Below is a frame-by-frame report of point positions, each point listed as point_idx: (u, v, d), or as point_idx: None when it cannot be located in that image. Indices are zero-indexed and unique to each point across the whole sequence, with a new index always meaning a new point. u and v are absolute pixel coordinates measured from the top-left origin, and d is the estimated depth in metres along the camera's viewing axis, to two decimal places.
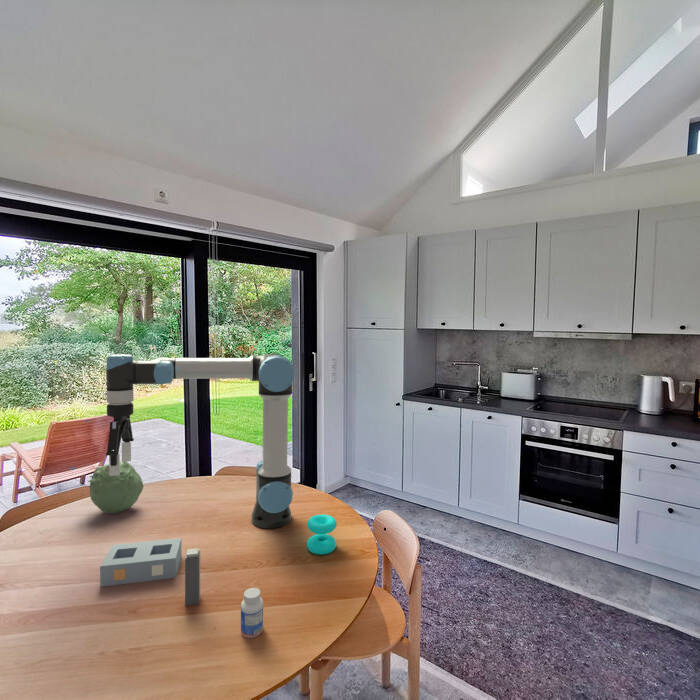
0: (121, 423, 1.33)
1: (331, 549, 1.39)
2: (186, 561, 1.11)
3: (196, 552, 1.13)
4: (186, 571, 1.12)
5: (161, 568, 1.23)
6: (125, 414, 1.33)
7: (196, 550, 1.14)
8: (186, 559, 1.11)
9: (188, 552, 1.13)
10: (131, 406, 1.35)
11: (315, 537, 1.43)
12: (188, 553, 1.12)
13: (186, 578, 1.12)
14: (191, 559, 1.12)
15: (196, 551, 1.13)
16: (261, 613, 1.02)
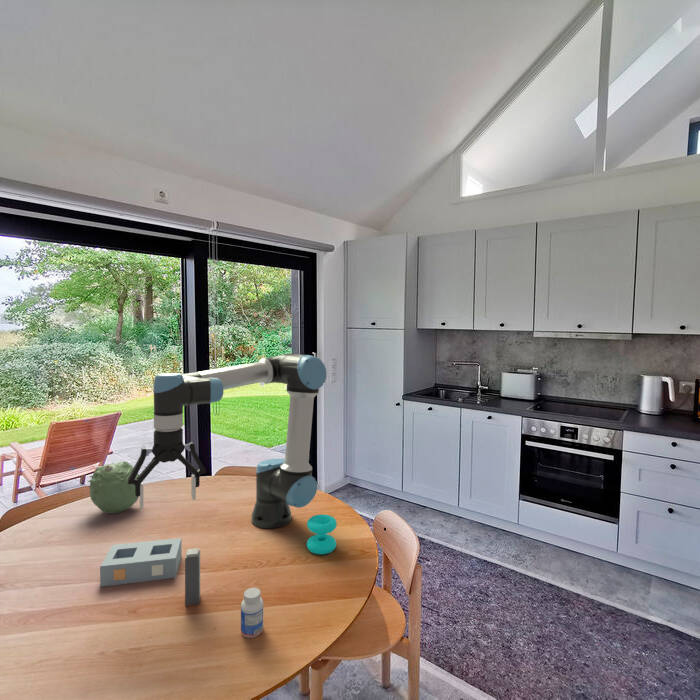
0: (157, 452, 1.16)
1: (331, 549, 1.39)
2: (186, 561, 1.12)
3: (196, 552, 1.13)
4: (186, 571, 1.12)
5: (161, 568, 1.23)
6: (157, 442, 1.15)
7: (196, 550, 1.14)
8: (186, 559, 1.11)
9: (188, 552, 1.13)
10: (165, 435, 1.15)
11: (315, 537, 1.43)
12: (188, 553, 1.12)
13: (186, 578, 1.12)
14: (191, 559, 1.12)
15: (196, 551, 1.13)
16: (261, 613, 1.02)
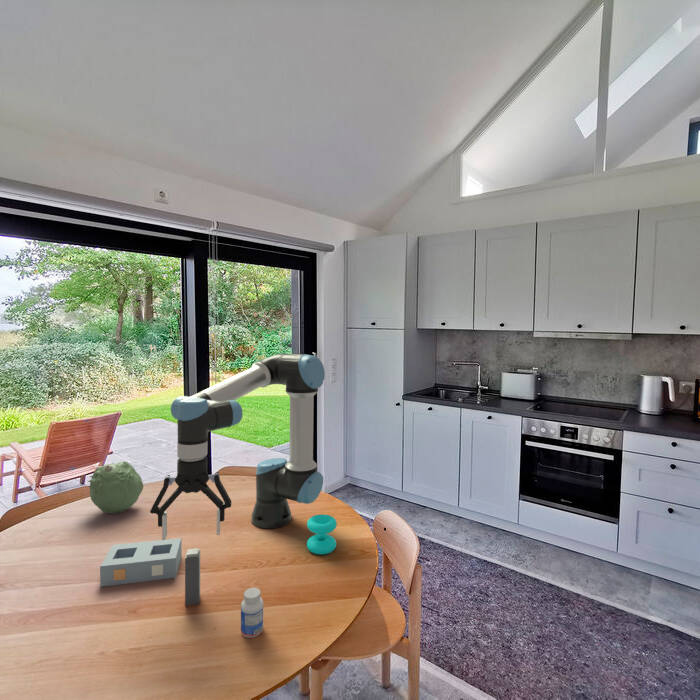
0: (179, 481, 1.10)
1: (331, 549, 1.39)
2: (186, 561, 1.11)
3: (196, 552, 1.13)
4: (186, 571, 1.12)
5: (161, 568, 1.23)
6: (179, 472, 1.09)
7: (196, 550, 1.14)
8: (186, 559, 1.11)
9: (188, 552, 1.13)
10: (186, 465, 1.08)
11: (315, 537, 1.43)
12: (188, 553, 1.12)
13: (186, 578, 1.12)
14: (191, 559, 1.12)
15: (196, 551, 1.13)
16: (261, 613, 1.02)
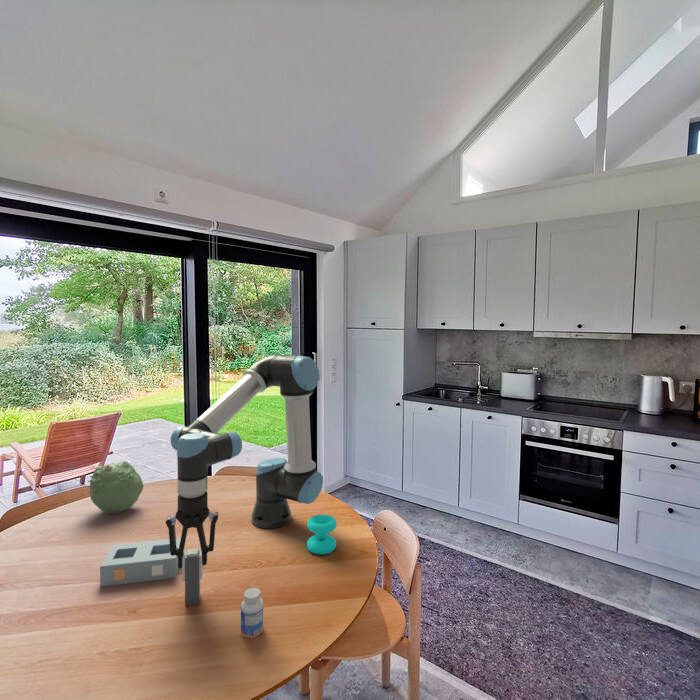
0: (180, 517, 1.11)
1: (331, 549, 1.39)
2: (186, 561, 1.12)
3: (196, 552, 1.13)
4: (186, 571, 1.12)
5: (161, 568, 1.23)
6: (179, 508, 1.10)
7: (196, 550, 1.14)
8: (186, 559, 1.11)
9: (188, 552, 1.13)
10: (186, 502, 1.09)
11: (315, 537, 1.43)
12: (188, 553, 1.12)
13: (186, 578, 1.12)
14: (191, 559, 1.12)
15: (196, 551, 1.13)
16: (261, 613, 1.02)
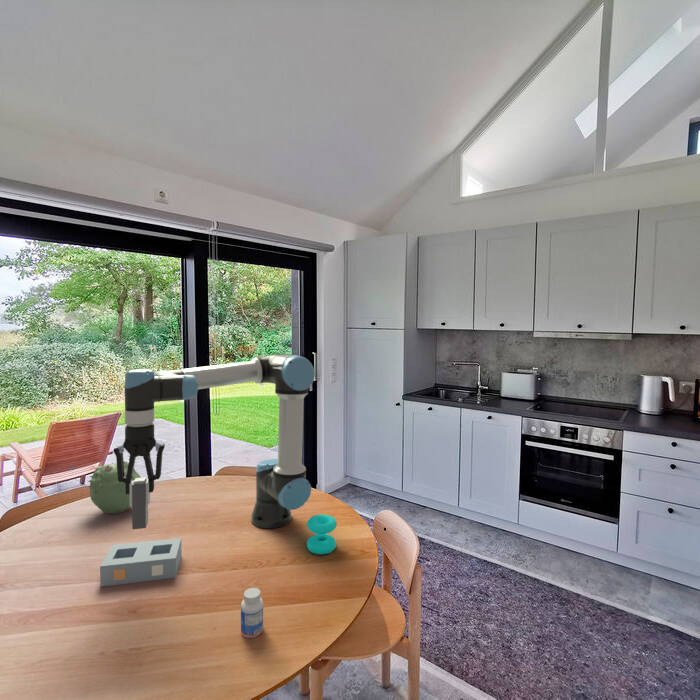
0: (127, 446, 1.19)
1: (331, 549, 1.39)
2: (133, 487, 1.19)
3: (143, 480, 1.21)
4: (133, 497, 1.20)
5: (161, 568, 1.23)
6: (126, 437, 1.18)
7: (143, 478, 1.22)
8: (133, 485, 1.19)
9: (135, 480, 1.21)
10: (132, 430, 1.17)
11: (315, 537, 1.43)
12: (135, 480, 1.20)
13: (133, 503, 1.20)
14: (138, 486, 1.20)
15: (143, 479, 1.21)
16: (261, 613, 1.02)
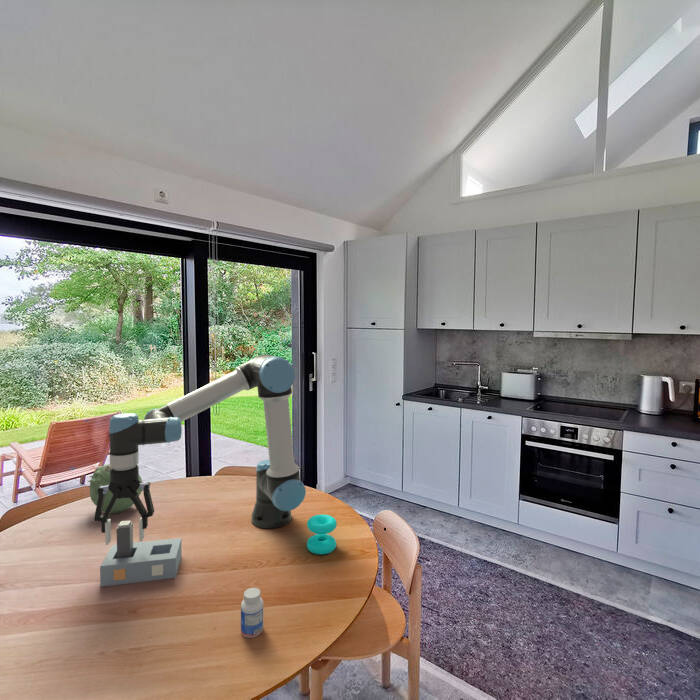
0: (112, 488, 1.23)
1: (331, 549, 1.39)
2: (118, 531, 1.24)
3: (127, 523, 1.25)
4: (118, 540, 1.24)
5: (161, 568, 1.23)
6: (111, 480, 1.22)
7: (128, 522, 1.26)
8: (117, 529, 1.23)
9: (120, 523, 1.25)
10: (116, 474, 1.21)
11: (315, 537, 1.43)
12: (120, 524, 1.24)
13: (118, 547, 1.24)
14: (123, 530, 1.24)
15: (128, 523, 1.25)
16: (261, 613, 1.02)
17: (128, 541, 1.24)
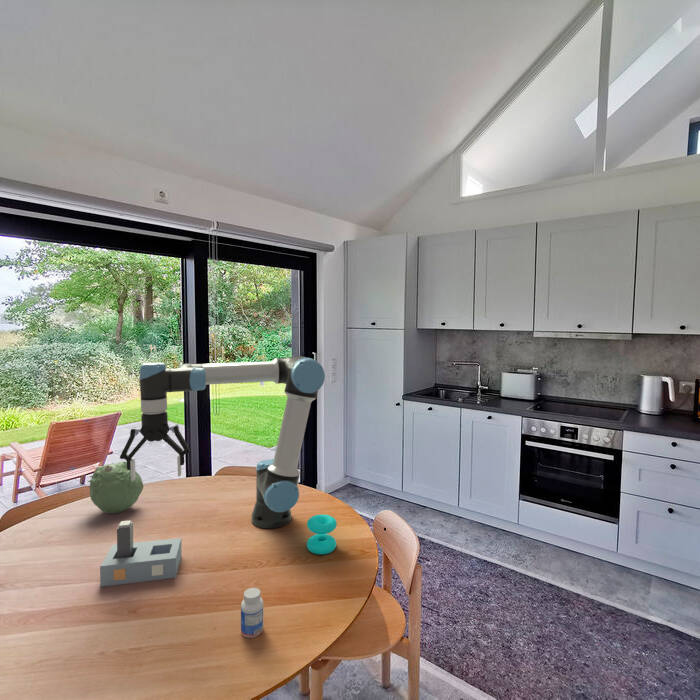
0: (144, 432, 1.32)
1: (331, 549, 1.39)
2: (118, 531, 1.24)
3: (128, 523, 1.25)
4: (118, 540, 1.24)
5: (161, 568, 1.23)
6: (143, 424, 1.30)
7: (128, 522, 1.26)
8: (118, 529, 1.24)
9: (120, 523, 1.25)
10: (148, 417, 1.30)
11: (315, 537, 1.43)
12: (120, 524, 1.24)
13: (118, 547, 1.24)
14: (123, 530, 1.24)
15: (128, 523, 1.25)
16: (261, 613, 1.02)
17: (128, 541, 1.24)
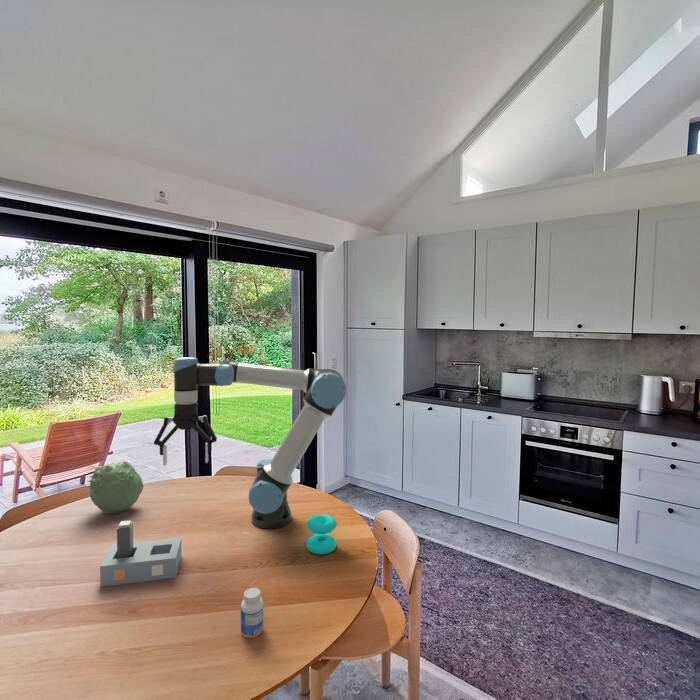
0: (176, 420, 1.43)
1: (331, 549, 1.39)
2: (118, 531, 1.24)
3: (128, 523, 1.25)
4: (118, 540, 1.24)
5: (161, 568, 1.23)
6: (175, 413, 1.42)
7: (128, 522, 1.26)
8: (118, 529, 1.24)
9: (120, 523, 1.25)
10: (181, 407, 1.41)
11: (315, 537, 1.43)
12: (120, 524, 1.24)
13: (118, 547, 1.24)
14: (123, 530, 1.24)
15: (128, 523, 1.25)
16: (261, 613, 1.02)
17: (128, 541, 1.24)
